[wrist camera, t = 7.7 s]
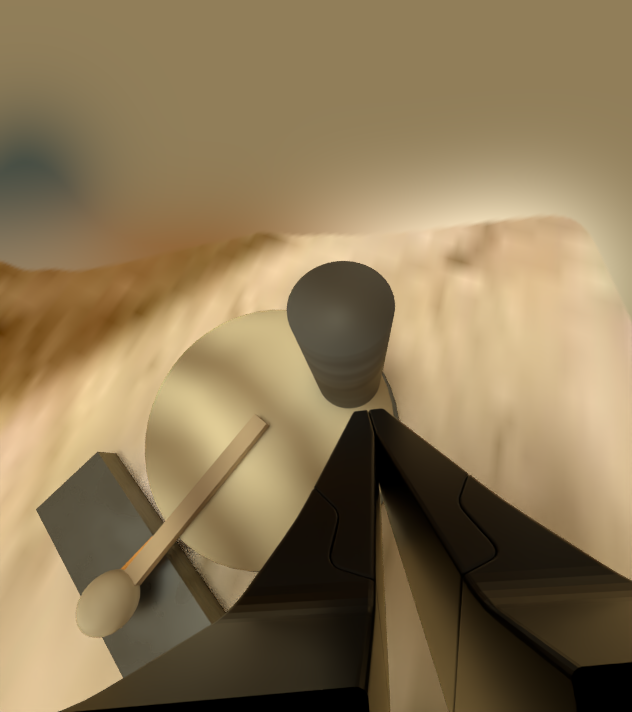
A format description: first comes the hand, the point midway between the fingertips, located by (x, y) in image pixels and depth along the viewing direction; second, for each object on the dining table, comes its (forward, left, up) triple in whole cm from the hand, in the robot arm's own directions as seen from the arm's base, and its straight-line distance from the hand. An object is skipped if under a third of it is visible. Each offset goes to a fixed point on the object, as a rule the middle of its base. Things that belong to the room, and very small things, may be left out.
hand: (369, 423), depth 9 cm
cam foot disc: (-6, +5, -12) cm, 14 cm away
